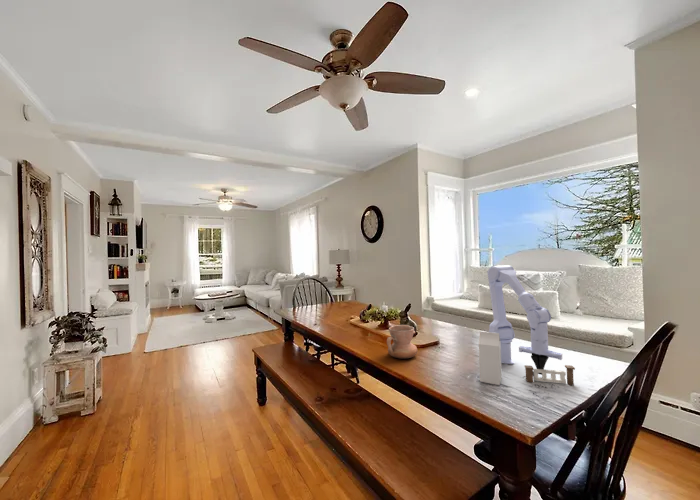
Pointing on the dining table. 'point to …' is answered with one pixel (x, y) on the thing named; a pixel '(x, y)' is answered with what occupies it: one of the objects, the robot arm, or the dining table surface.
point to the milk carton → (490, 358)
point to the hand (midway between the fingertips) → (540, 373)
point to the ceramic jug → (401, 342)
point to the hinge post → (570, 374)
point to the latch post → (529, 373)
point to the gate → (553, 375)
